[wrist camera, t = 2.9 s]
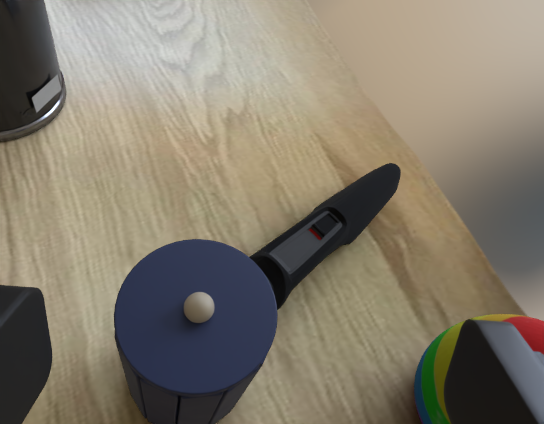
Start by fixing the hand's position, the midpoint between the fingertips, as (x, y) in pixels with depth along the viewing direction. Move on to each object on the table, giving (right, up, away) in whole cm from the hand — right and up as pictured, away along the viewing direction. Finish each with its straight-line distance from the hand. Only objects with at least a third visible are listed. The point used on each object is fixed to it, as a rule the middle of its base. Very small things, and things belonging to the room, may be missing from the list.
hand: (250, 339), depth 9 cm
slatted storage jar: (-4, -7, +18) cm, 19 cm away
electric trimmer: (+4, 0, +24) cm, 25 cm away
